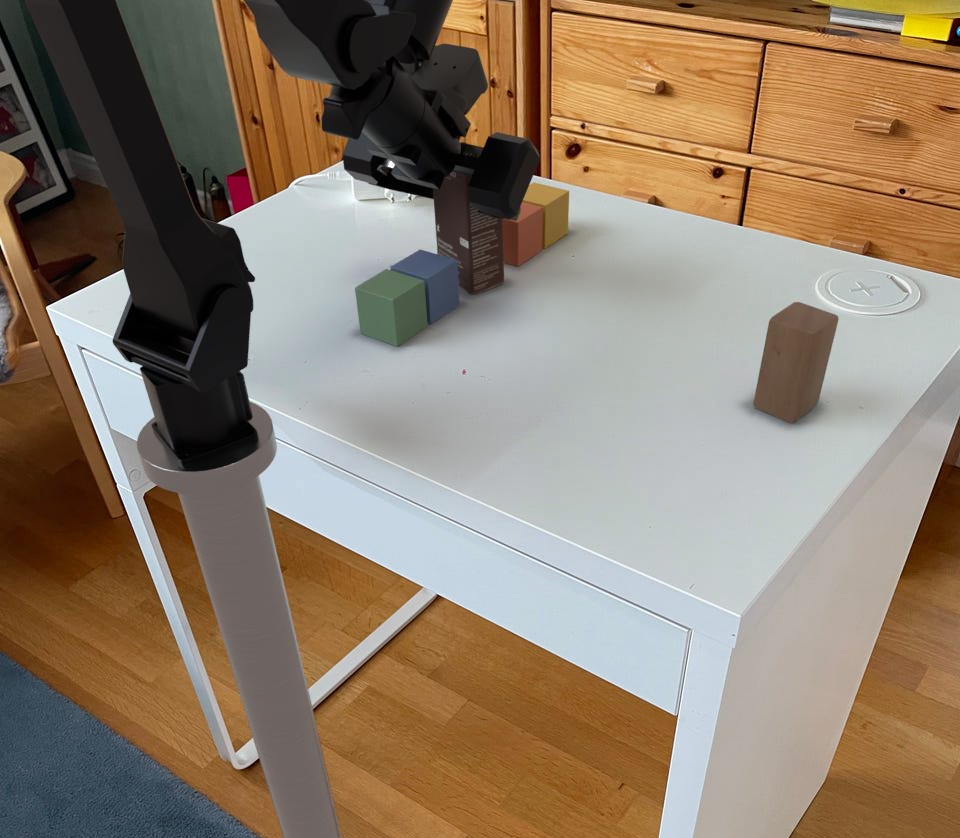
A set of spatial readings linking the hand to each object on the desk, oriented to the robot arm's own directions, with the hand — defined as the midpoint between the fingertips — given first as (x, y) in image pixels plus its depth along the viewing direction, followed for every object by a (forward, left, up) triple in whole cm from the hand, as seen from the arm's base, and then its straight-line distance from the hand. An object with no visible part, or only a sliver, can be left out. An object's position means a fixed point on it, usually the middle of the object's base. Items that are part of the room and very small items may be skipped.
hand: (478, 204), depth 94 cm
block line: (-1, 0, -7) cm, 7 cm away
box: (-1, 0, -7) cm, 7 cm away
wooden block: (+6, -35, -7) cm, 37 cm away
